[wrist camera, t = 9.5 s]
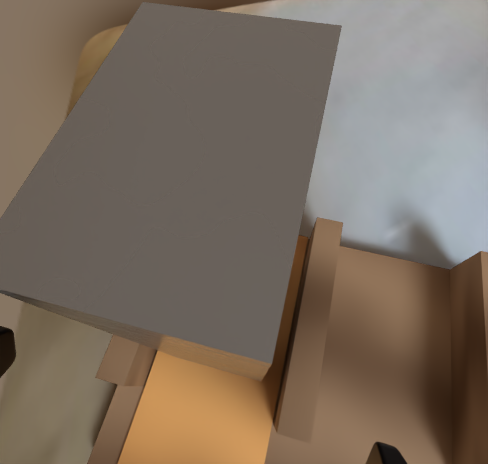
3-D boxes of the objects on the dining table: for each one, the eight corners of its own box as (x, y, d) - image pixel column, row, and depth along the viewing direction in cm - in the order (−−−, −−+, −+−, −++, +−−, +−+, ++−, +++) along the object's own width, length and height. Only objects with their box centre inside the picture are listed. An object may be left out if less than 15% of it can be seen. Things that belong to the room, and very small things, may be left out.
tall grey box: (260, 381, 14) (272, 364, 3) (176, 357, 15) (-39, 277, 4) (287, 258, 17) (341, 25, 6) (214, 242, 17) (142, 2, 7)
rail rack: (699, 675, 11) (878, 792, 8) (95, 463, 14) (49, 485, 11) (616, 314, 16) (704, 297, 13) (188, 220, 19) (174, 187, 16)
